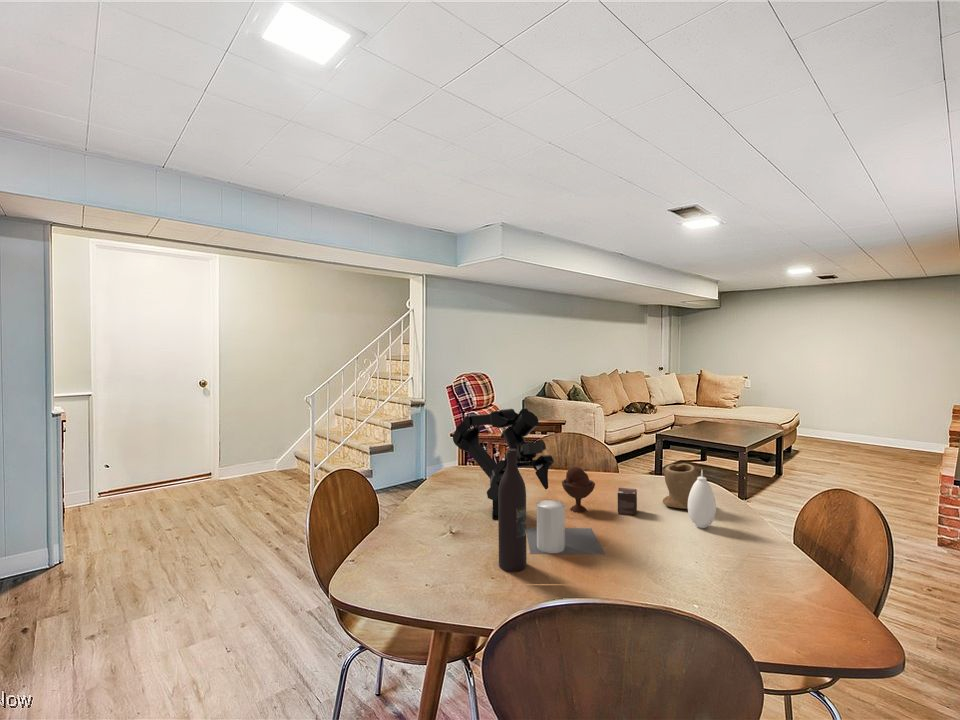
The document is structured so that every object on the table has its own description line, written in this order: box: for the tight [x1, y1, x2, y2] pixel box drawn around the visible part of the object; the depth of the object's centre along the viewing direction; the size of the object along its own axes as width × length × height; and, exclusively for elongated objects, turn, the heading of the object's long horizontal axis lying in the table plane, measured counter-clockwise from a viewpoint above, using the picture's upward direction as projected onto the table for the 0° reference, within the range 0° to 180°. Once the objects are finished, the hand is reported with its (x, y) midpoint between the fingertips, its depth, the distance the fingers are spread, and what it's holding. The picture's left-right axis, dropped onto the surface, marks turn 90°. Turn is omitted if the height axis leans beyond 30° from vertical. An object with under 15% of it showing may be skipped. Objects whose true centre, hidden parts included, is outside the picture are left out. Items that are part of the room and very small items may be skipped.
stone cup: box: [662, 462, 699, 510], centre depth 164 cm, size 15×12×15 cm
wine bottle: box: [497, 448, 527, 573], centre depth 122 cm, size 7×7×30 cm
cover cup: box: [536, 499, 566, 553], centre depth 133 cm, size 7×7×12 cm
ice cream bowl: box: [561, 466, 596, 514], centre depth 163 cm, size 11×11×15 cm
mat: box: [526, 527, 606, 555], centre depth 138 cm, size 20×18×1 cm
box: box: [617, 487, 638, 516], centre depth 161 cm, size 6×6×7 cm
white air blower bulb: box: [687, 469, 717, 529], centre depth 147 cm, size 8×8×18 cm
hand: (534, 490), depth 142 cm, fingers open, 9 cm apart
